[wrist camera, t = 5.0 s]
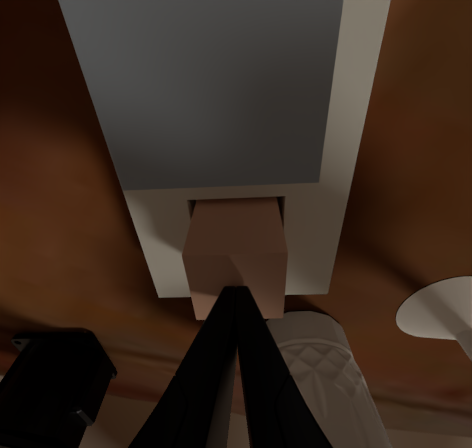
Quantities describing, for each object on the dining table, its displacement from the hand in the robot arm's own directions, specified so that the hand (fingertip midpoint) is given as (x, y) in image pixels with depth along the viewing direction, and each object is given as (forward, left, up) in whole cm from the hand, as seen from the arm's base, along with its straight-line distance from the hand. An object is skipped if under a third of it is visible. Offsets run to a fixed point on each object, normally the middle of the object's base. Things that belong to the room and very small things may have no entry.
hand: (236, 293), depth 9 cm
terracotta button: (0, 0, -5) cm, 5 cm away
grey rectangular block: (0, +7, -3) cm, 8 cm away
